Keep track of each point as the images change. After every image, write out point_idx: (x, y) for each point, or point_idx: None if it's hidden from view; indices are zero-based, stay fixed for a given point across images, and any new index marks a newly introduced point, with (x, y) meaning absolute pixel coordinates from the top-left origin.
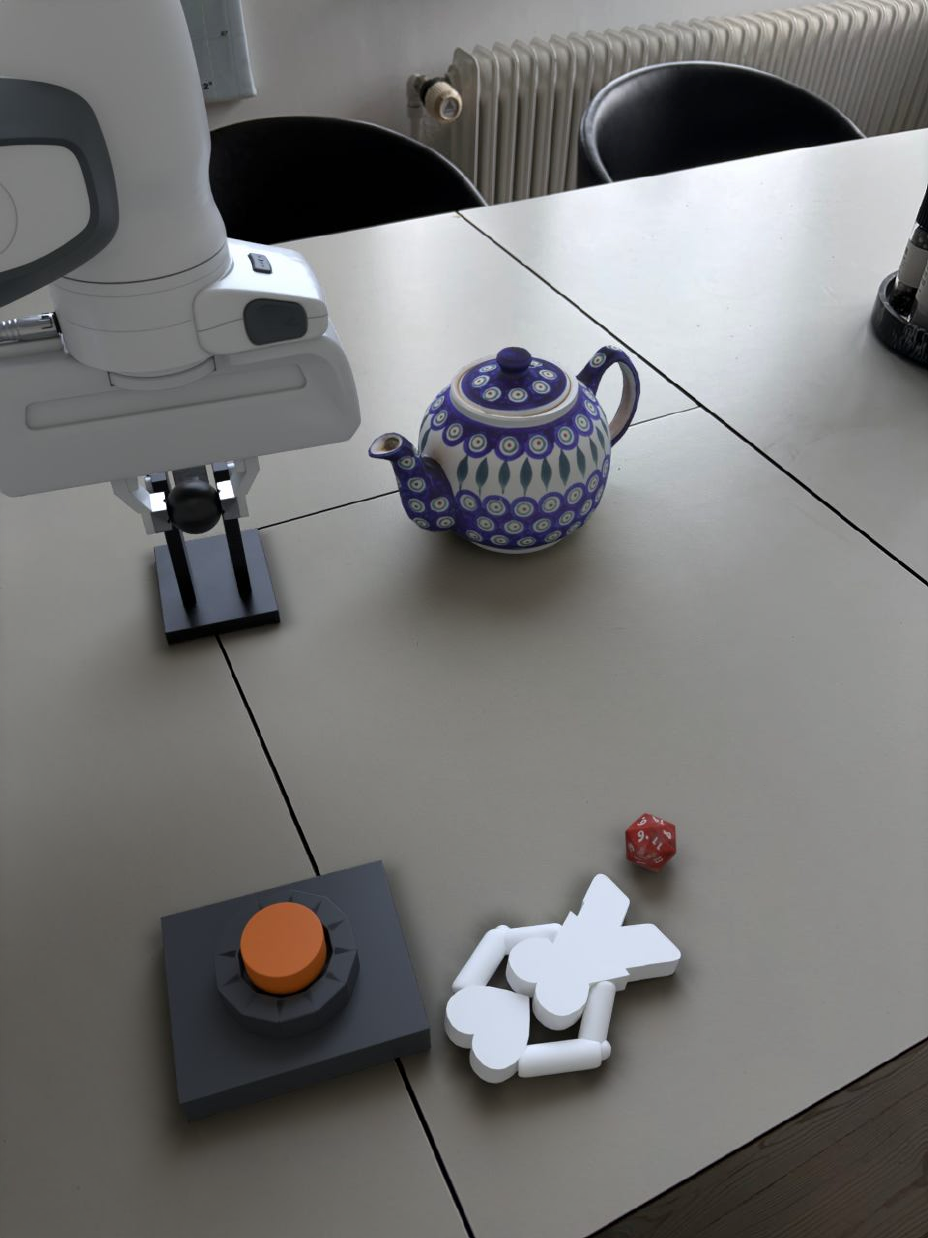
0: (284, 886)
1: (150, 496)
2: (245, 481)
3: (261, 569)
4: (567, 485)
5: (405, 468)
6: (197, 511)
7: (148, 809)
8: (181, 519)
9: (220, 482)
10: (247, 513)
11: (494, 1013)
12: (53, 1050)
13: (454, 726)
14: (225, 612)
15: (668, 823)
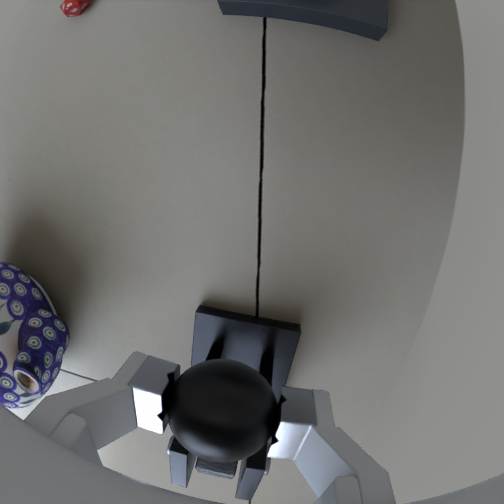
0: (294, 6)
1: (295, 455)
2: (87, 396)
3: (196, 362)
4: None
5: (28, 355)
6: (217, 391)
7: (372, 149)
8: (258, 391)
9: (155, 431)
10: (133, 353)
11: None
12: (443, 28)
13: (113, 124)
14: (241, 331)
15: (61, 6)
